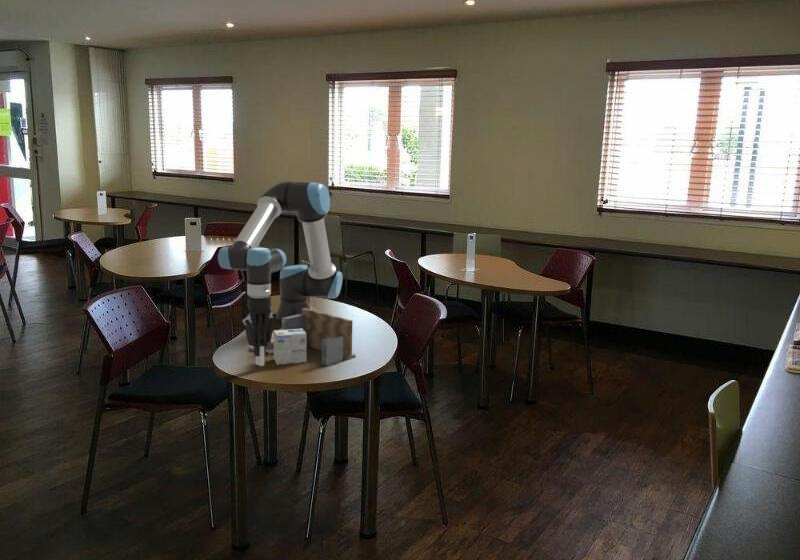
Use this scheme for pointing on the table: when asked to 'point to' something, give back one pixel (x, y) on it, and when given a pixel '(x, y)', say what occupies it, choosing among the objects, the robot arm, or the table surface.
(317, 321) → the rack
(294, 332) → the light bulb box
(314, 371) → the table surface
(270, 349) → the packaged product
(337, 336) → the bookend
